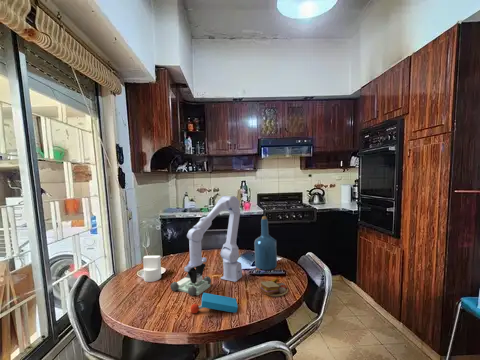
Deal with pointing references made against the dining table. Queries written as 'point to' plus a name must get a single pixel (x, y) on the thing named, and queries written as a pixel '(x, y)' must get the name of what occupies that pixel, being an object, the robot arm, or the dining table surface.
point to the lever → (216, 303)
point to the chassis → (190, 286)
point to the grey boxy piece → (197, 280)
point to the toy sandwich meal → (273, 288)
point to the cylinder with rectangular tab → (152, 268)
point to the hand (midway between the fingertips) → (196, 281)
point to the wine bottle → (265, 248)
